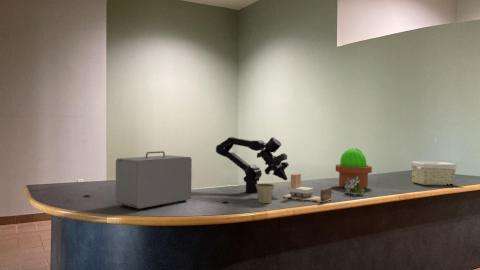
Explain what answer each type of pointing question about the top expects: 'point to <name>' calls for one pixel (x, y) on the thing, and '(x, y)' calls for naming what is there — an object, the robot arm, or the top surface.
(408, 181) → the top surface
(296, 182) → the brown piece
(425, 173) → the storage basket
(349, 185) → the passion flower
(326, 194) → the tan cardboard slab
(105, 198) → the top surface
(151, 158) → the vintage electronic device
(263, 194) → the flower pot
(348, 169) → the potted cactus
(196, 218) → the top surface
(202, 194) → the top surface
